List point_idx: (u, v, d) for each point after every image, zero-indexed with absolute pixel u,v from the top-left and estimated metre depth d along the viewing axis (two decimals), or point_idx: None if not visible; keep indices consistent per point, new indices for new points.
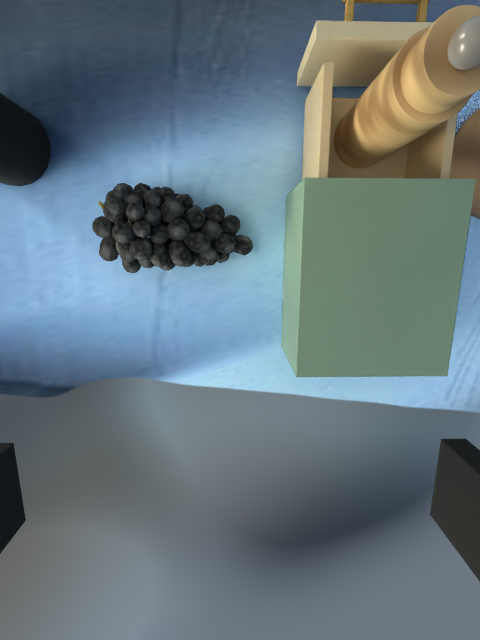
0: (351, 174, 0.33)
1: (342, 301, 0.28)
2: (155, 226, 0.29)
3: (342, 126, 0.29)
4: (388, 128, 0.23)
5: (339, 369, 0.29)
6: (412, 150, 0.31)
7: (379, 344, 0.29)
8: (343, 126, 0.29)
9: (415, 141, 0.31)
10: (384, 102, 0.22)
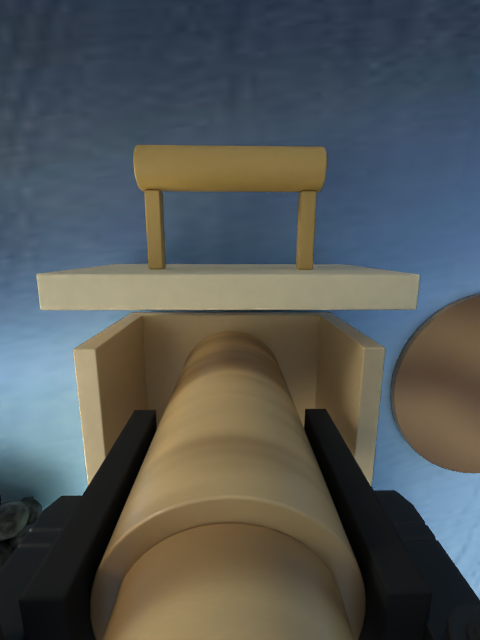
0: None
1: None
2: None
3: None
4: None
5: None
6: (319, 407, 0.18)
7: None
8: None
9: (322, 398, 0.17)
10: None
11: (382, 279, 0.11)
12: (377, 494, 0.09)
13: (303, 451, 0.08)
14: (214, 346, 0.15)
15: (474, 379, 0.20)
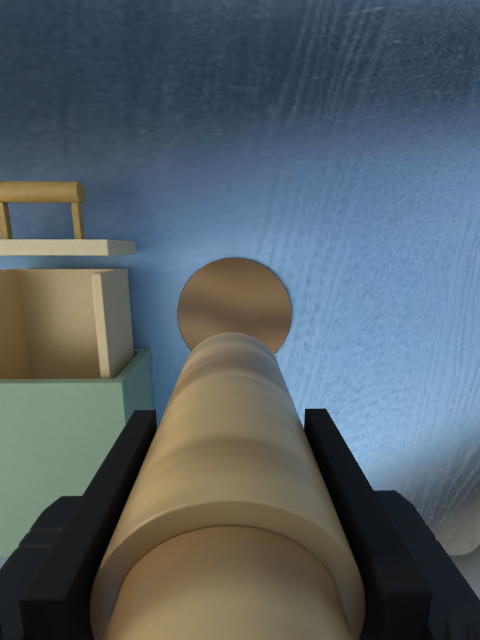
0: (67, 337, 0.33)
1: (13, 491, 0.28)
2: None
3: None
4: None
5: None
6: None
7: None
8: None
9: None
10: None
11: (90, 241, 0.25)
12: (377, 494, 0.09)
13: (303, 453, 0.08)
14: (214, 347, 0.15)
15: (224, 310, 0.34)
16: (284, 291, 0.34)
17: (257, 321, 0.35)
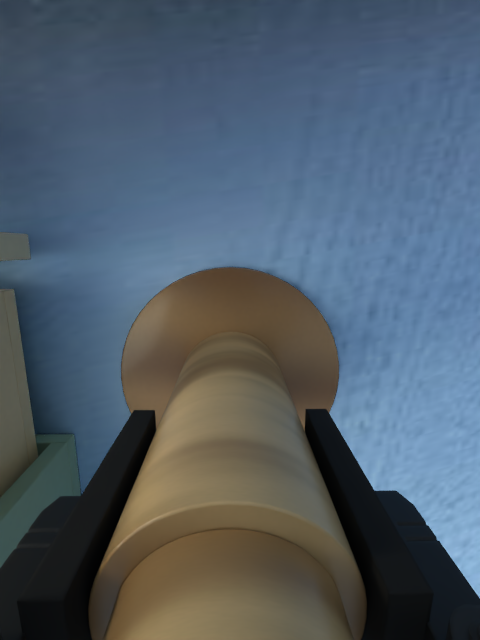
0: None
1: None
2: None
3: None
4: None
5: None
6: None
7: None
8: None
9: None
10: None
11: None
12: (378, 493, 0.09)
13: (303, 454, 0.08)
14: (214, 347, 0.15)
15: None
16: (327, 332, 0.18)
17: None
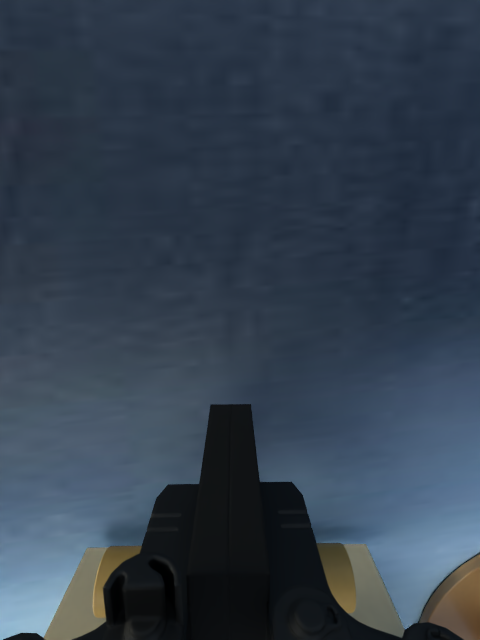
0: None
1: None
2: None
3: None
4: None
5: None
6: None
7: None
8: None
9: None
10: None
11: None
12: (273, 485, 0.09)
13: None
14: None
15: None
16: None
17: None
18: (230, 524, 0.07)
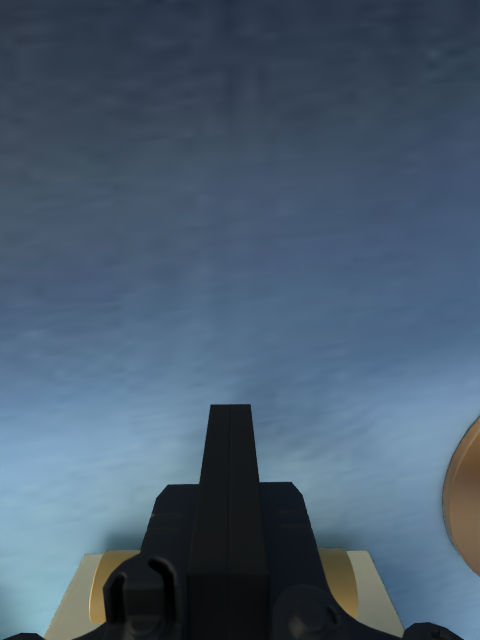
0: None
1: None
2: None
3: None
4: None
5: None
6: None
7: None
8: None
9: None
10: None
11: None
12: (273, 485, 0.09)
13: None
14: None
15: None
16: None
17: None
18: (230, 524, 0.07)
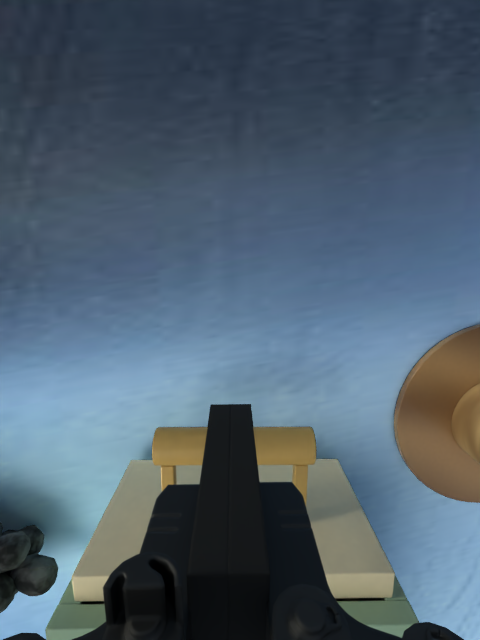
0: None
1: None
2: None
3: None
4: None
5: None
6: None
7: None
8: None
9: None
10: None
11: (363, 577, 0.13)
12: (273, 485, 0.09)
13: None
14: None
15: None
16: None
17: None
18: (230, 524, 0.07)
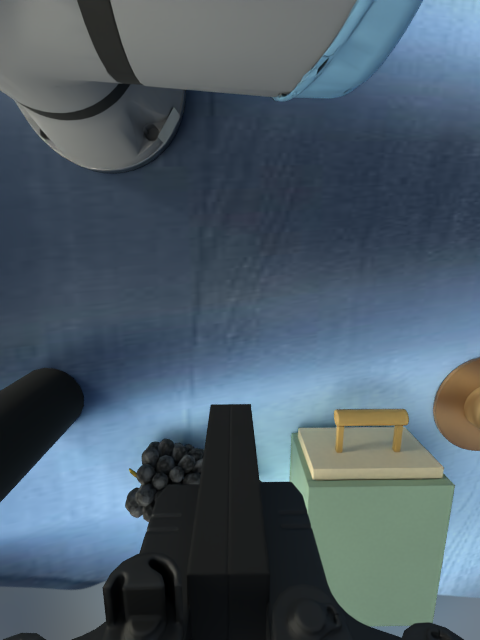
0: None
1: (341, 573, 0.33)
2: None
3: (479, 414, 0.36)
4: None
5: None
6: None
7: (373, 603, 0.33)
8: None
9: None
10: None
11: (431, 469, 0.31)
12: (273, 484, 0.09)
13: None
14: None
15: None
16: None
17: None
18: (230, 524, 0.07)
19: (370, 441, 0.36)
